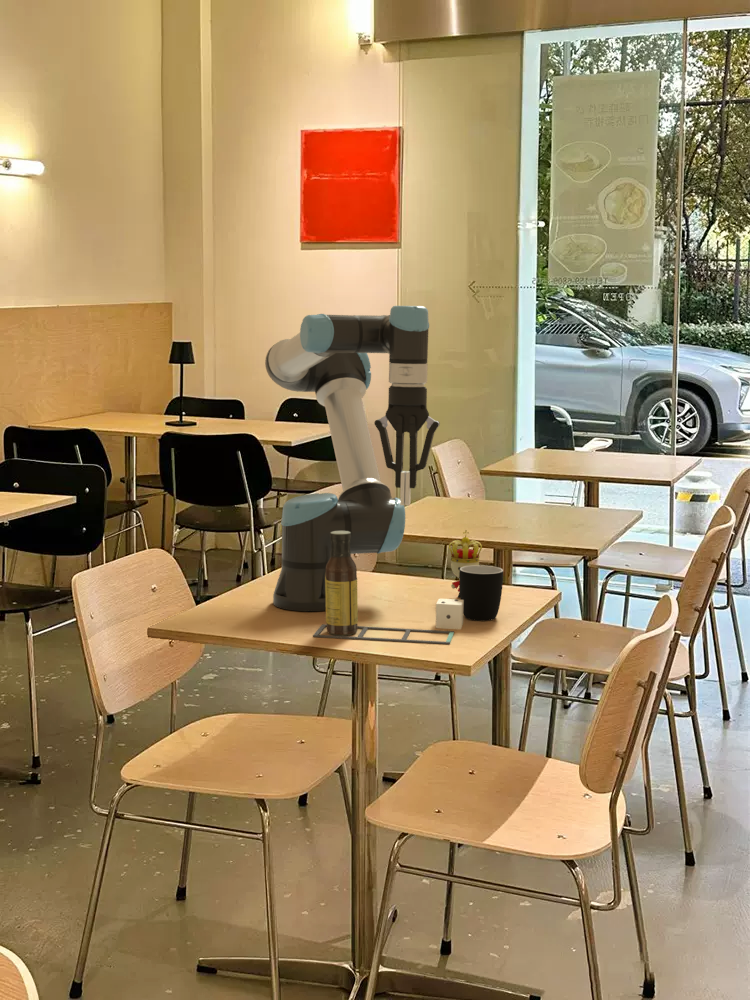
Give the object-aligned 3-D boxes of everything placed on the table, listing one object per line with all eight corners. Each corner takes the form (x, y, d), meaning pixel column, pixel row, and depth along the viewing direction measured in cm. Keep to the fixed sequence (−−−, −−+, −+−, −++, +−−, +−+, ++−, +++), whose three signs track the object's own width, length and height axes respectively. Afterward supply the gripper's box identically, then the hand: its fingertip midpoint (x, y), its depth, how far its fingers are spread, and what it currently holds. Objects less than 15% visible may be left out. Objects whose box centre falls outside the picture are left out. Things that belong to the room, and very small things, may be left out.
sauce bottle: (347, 627, 251) (348, 528, 248) (363, 634, 245) (365, 532, 243) (318, 631, 247) (319, 530, 244) (334, 638, 242) (336, 535, 239)
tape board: (322, 625, 252) (322, 624, 251) (454, 632, 248) (454, 631, 248) (312, 636, 242) (312, 635, 242) (449, 644, 238) (449, 642, 238)
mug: (510, 620, 259) (512, 571, 258) (473, 624, 255) (475, 575, 253) (478, 608, 269) (479, 561, 268) (442, 612, 265) (443, 564, 264)
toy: (453, 600, 276) (455, 533, 274) (443, 593, 283) (445, 527, 281) (484, 599, 278) (486, 532, 276) (474, 592, 285) (476, 527, 283)
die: (438, 622, 256) (438, 597, 256) (463, 623, 255) (463, 598, 255) (435, 628, 251) (436, 602, 250) (460, 630, 250) (461, 604, 250)
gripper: (371, 385, 245) (369, 505, 249) (439, 387, 243) (436, 508, 247) (377, 383, 253) (375, 500, 256) (443, 385, 251) (440, 503, 254)
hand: (405, 504), depth 251 cm, fingers closed
